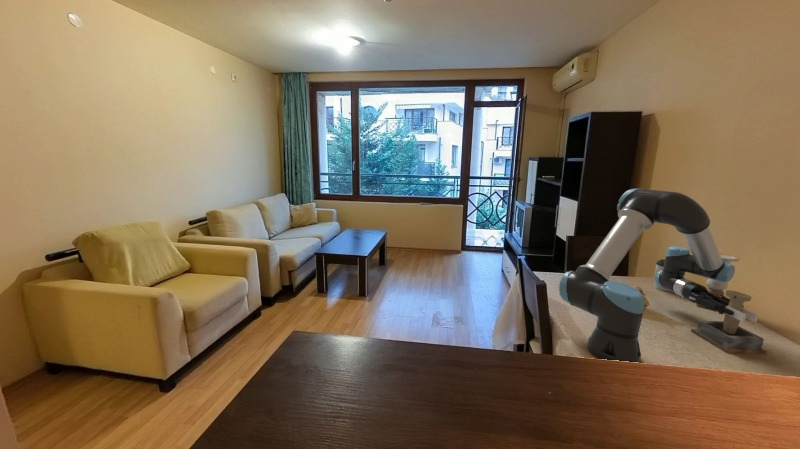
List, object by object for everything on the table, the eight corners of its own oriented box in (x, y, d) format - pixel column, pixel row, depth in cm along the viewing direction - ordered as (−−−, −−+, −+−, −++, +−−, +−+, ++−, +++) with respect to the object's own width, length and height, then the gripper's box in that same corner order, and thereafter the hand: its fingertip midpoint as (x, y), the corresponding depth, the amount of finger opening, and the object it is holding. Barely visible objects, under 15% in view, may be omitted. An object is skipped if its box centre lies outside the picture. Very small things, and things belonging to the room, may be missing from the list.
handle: (737, 338, 116) (747, 298, 113) (714, 329, 122) (723, 291, 119) (743, 335, 118) (754, 296, 115) (720, 327, 124) (729, 289, 121)
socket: (726, 352, 114) (729, 339, 113) (690, 331, 127) (693, 319, 126) (766, 353, 114) (769, 340, 113) (726, 332, 128) (729, 320, 127)
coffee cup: (653, 289, 169) (658, 261, 166) (649, 283, 177) (655, 256, 174) (675, 293, 165) (681, 264, 162) (670, 287, 173) (676, 259, 170)
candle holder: (695, 298, 159) (706, 251, 154) (726, 305, 152) (739, 256, 147) (696, 306, 151) (707, 255, 146) (729, 313, 144) (742, 261, 139)
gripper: (708, 299, 137) (771, 328, 114) (669, 298, 136) (724, 327, 114) (712, 282, 135) (777, 308, 112) (672, 281, 135) (729, 307, 112)
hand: (750, 318), depth 113 cm, fingers closed on handle, 3 cm apart
